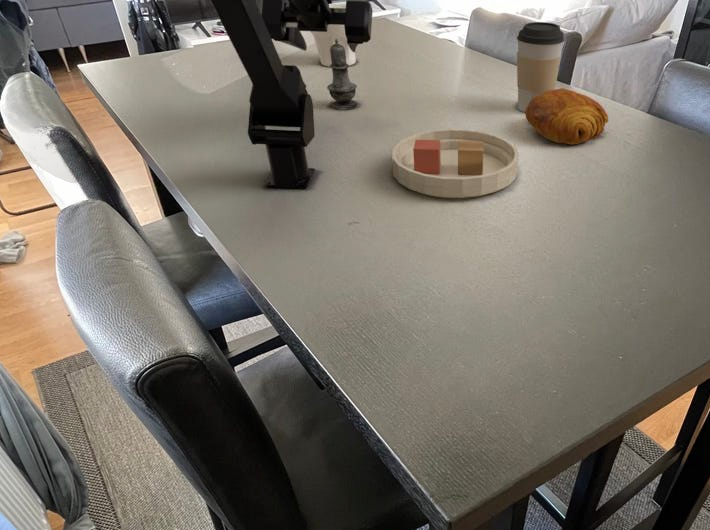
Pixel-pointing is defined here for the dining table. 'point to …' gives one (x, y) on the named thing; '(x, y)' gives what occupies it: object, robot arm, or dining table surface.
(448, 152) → the round wooden tray
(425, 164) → the block
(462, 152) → the block
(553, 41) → the coffee cup
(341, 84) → the grey turned piece
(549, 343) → the dining table surface
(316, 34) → the cup
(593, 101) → the croissant
